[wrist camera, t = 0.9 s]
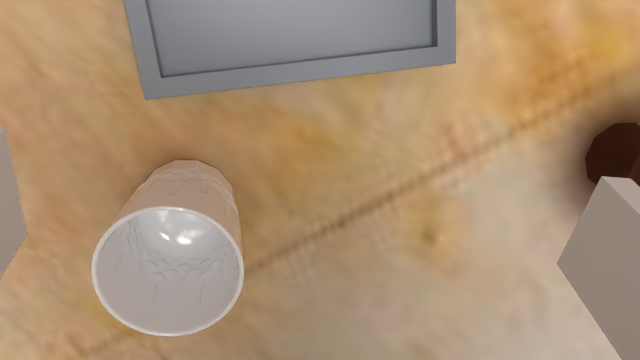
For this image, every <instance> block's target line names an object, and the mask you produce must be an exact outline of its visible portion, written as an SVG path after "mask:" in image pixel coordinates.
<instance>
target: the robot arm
mask: <svg viewBox="0 0 640 360" xmlns="http://www.w3.org/2000/svg"><path fill="white" fill-rule="evenodd" d="M26 236H27V229H26V225H25V220H24V215H23V210H22V205H21V201H20V196H19V191H18V186H17V182H16V177H15V172H14V167H13V162H12V158H11V153H10V148H9V143H8V139H7V134H6V129H5V127H0V278H1V276H2V275H3V273H4V271H5V270H6V268H7V267H8V265H9V263H10V262H11V260H12V259H13V257H14V255H15V254H16V252H17V250H18V249H19V247H20V246H21V244H22V242H23V241H24V239H25V238H26ZM557 265H558V266H559V268H560V269H561V270H562V272H563V273H564V275H565V276H566V278H567V279H568V281H569V282H570V284H571V285H572V287H573V288H574V290H575V291H576V293H577V294H578V296H579V297H580V299H581V300H582V301H583V303H584V304H585V306H586V307H587V309H588V310H589V312H590V313H591V315H592V316H593V318H594V319H595V321H596V322H597V324H598V325H599V327H600V328H601V329H602V331H603V332H604V334H605V335H606V337H607V338H608V340H609V341H610V343H611V344H612V346H613V347H614V349H615V350H616V352H617V353H618V355H619V356H620V358H621V359H622V360H640V187H639V186H638V185H637V184H636V183H635V182H634V181H633V180H632V179H630V178H618V177H606V176H601V178H600V180H599V182H598V184H597V186H596V188H595V190H594V192H593V194H592V196H591V198H590V200H589V202H588V203H587V205H586V207H585V209H584V211H583V213H582V215H581V217H580V219H579V221H578V223H577V225H576V227H575V229H574V231H573V233H572V235H571V237H570V239H569V240H568V242H567V244H566V246H565V248H564V250H563V252H562V254H561V256H560V258H559V260H558V262H557Z"/></svg>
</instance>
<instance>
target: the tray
mask: <svg viewBox="0 0 640 360" xmlns="http://www.w3.org/2000/svg"><path fill="white" fill-rule="evenodd" d="M124 5H125V10H126V14H127V19H128V24H129V28H130V33H131V37H132V42H133V47H134V51H135V56H136V61H137V65H138V70H139V75H140V79H141V84H142V88H143V93H144V98H145V100H149V99H157V98H166V97H174V96H183V95H191V94H200V93H208V92H217V91H225V90H234V89H242V88H251V87H259V86H267V85H276V84H284V83H293V82H301V81H310V80H318V79H327V78H335V77H344V76H352V75H361V74H369V73H378V72H386V71H395V70H403V69H412V68H420V67H429V66H437V65H446V64H454V63H456V0H124Z"/></svg>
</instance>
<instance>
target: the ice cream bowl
mask: <svg viewBox="0 0 640 360" xmlns="http://www.w3.org/2000/svg"><path fill="white" fill-rule="evenodd" d="M585 159H586V166H587V173H588V178H589V179H590V180H592V181H593V182H594V183H595V184H598V182H599V180H600V178H601V176H606V177H618V178H630V179H632V180H633V181H634V182H635V183H636V184H637V185H638V186H639V187H640V126H639V125H637V124H636V123H620V124H613V125H612V126H611V127H609V128H608V129H607V130H605V131H604V132H602V133H601V134H600V135H598V136H597V137H595V139H594V141H593V143H592V146H591V148H590V150H589V152H588V154H587V156H586V158H585Z"/></svg>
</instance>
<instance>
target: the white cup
mask: <svg viewBox="0 0 640 360" xmlns="http://www.w3.org/2000/svg"><path fill="white" fill-rule="evenodd" d="M91 277H92V283H93V286H94V289H95V292H96V294H97V296H98V298H99V300H100V302H101V303H102V305H103V306H104V307H105V309H106V310H107V311H108V312H109V313H110V314H111V315H112V316H113V317H114V318H116V319H117V320H118V321H120V322H121V323H123V324H124V325H126V326H128V327H130V328H132V329H134V330H136V331H139V332H142V333H145V334H149V335H155V336H164V337H174V336H183V335H188V334H192V333H196V332H199V331H201V330H204V329H206V328H208V327H210V326H211V325H213V324H215V323H216V322H218V321H219V320H220V319H221V318H223V317H224V316H225V315H226V314H227V313H228V312H229V311H230V309H231V308H232V307H233V305H234V304H235V302H236V301H237V299H238V297H239V295H240V292H241V289H242V286H243V281H244V263H243V253H242V240H241V229H240V222H239V215H238V209H237V205H236V201H235V197H234V193H233V189H232V185H231V184H230V183H229V182H228V181H227V179H226V178H225V177H224V176H223V175H222V174H221V172H220V171H219V170H218V169H216V168H214V167H211V166H209V165H207V164H205V163H203V162H200V161H198V160H174V161H172V162H170V163H167V164H165V165H163V166H161V167H158V168H156V169H155V170H154V171H153V172H152V173H151V175H150V176H149V177H148V178H147V179H146V181H145V182H144V183H143V184H142V185H140V186H139V187H138V188H137V190H136V191H135V192H134V194H133V195H132V196H131V197H130V199H129V200H128V201H127V202H126V204H125V205H124V206H123V207H122V209H121V210H120V212H119V213H118V215H117V216H116V218H115V219H114V220H113V222H112V223H111V225H110V226H109V228H108V229H107V230H106V232H105V233H104V235H103V236H102V237H101V239H100V240H99V242H98V244H97V246H96V248H95V251H94V254H93V258H92V264H91Z"/></svg>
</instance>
